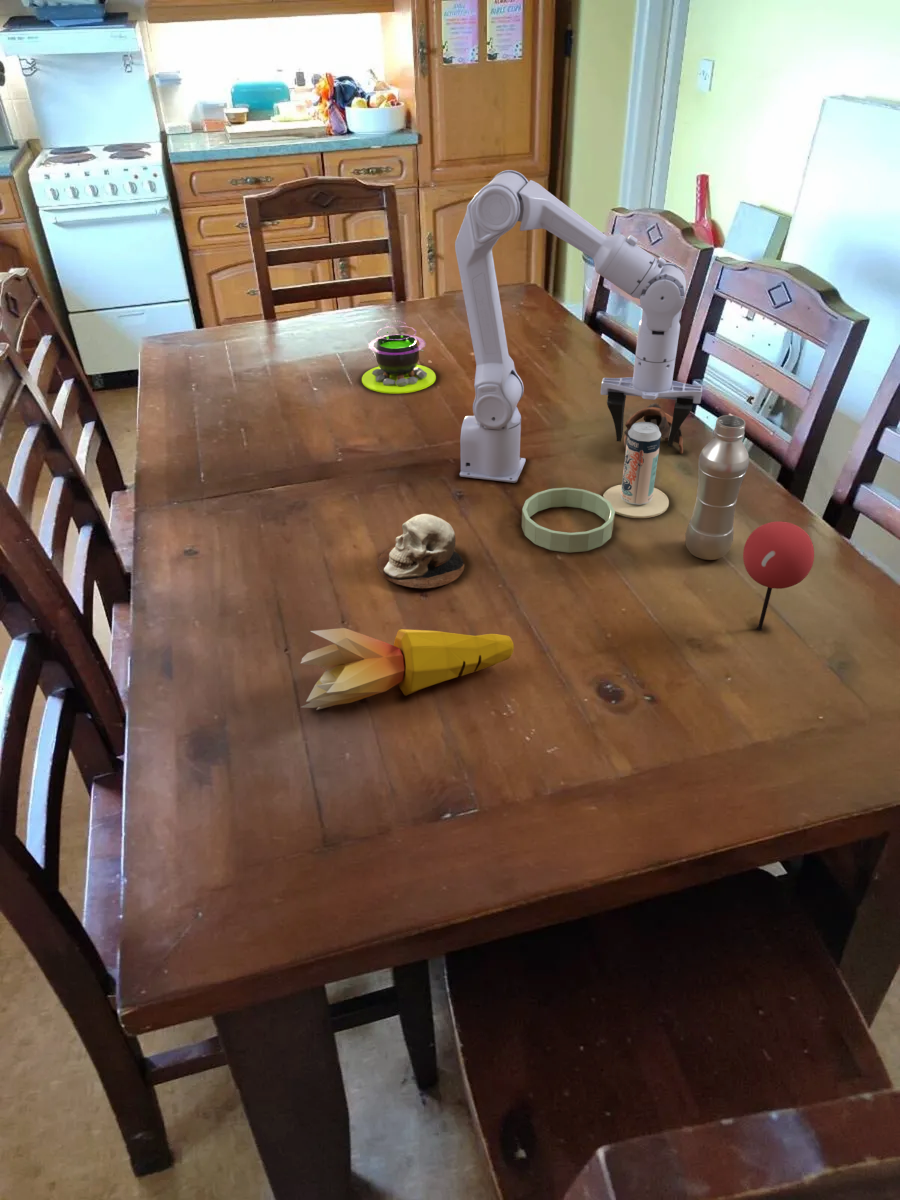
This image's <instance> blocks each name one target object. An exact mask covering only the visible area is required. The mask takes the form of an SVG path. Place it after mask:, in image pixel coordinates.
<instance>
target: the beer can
mask: <svg viewBox="0 0 900 1200" xmlns="http://www.w3.org/2000/svg"><path fill="white" fill-rule="evenodd" d="M661 439H662V437H661V433H660V431H659V428H658V426H657V425H655V424H653V423H650V422H645V421H637V422H635V423H634V424H633V425H632V426H631V428H630V430H629V431H628V435H627V444H626V448H625V455H624V463H623V471H622V480H621V484H622V488H621V498H622V499H623V500H624V501H626V502H627V503H629V504H632V505H643V504H646V503H649V502H650V501H651V500H652V497H653V490H654V488H655V483H656V482H655V481H656V477H657V467H658V460H659V455H660V454H659V453H660V449H659V447H660V446H661Z"/></svg>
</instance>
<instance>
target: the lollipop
mask: <svg viewBox="0 0 900 1200" xmlns="http://www.w3.org/2000/svg"><path fill="white" fill-rule="evenodd" d="M742 559H743V565H744V569H745V570H746V573H747V574H748V576H749V577H750V578H751V579H752V580H753V581H754V582H756V583H757V584H759V585H761V586H762V587H765V588H767V589H766V593H765V596H764V601H763V605H762V609H761V613H760V617H759V622H758V626H757V627H756V630H757V631H763V625H764V621H765V618H766V614H767V611H768V606H769V603H770V599H771V594H772V590H773V589H777V590H778V589H779V590H780V589H787V588H792V587H793V586H796V585H798V584H799V583H801V582H802V581H803V580H805V578H806V577H808V575H809V574H810V572H811V570H812V568H813V566H814V562H815V547H814V544H813V541H812V539H811V537H810V535H809V534H808V533H807V531H805V530H804V529H803V528H802V527H800V526H798V525H797V524H794V523H792V522H788V521H779V520H778V521H770V522H766V523H764V524H762V525H760V526H758V527H756V528H755V529H754V530H753V531H752V532H751V533H750V534H749V536H748V537H747V539H746V541H745V543H744V546H743V554H742Z"/></svg>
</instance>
